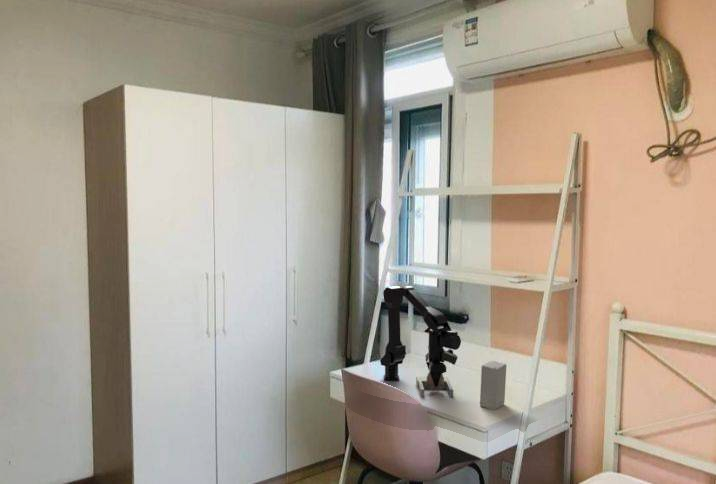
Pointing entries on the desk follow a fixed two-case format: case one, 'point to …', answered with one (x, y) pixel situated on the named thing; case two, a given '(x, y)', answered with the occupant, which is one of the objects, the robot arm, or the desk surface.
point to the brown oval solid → (431, 384)
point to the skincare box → (493, 385)
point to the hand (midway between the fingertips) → (435, 383)
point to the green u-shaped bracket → (422, 384)
